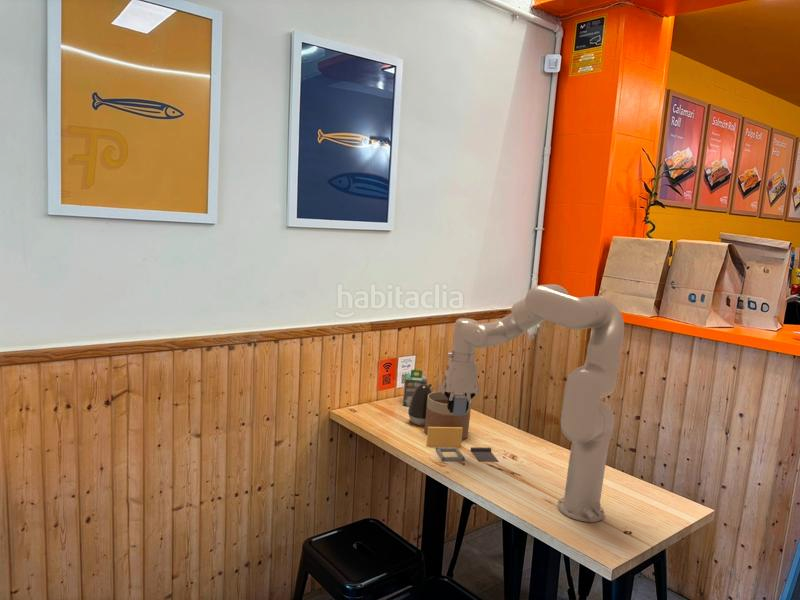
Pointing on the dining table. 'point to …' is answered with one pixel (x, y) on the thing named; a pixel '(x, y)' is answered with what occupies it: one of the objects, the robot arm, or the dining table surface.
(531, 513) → the dining table surface
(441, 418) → the planter
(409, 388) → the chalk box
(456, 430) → the port
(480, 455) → the dark grey lipped plate
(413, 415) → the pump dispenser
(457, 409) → the plug
